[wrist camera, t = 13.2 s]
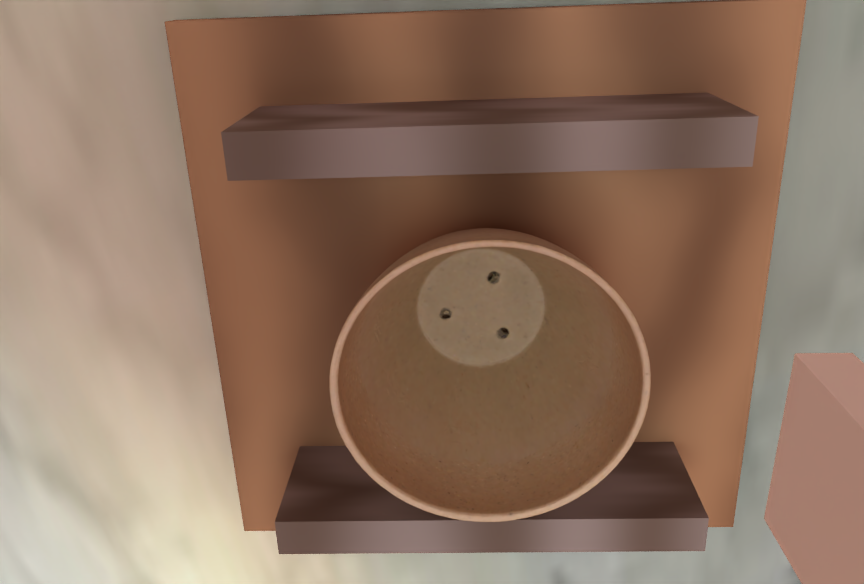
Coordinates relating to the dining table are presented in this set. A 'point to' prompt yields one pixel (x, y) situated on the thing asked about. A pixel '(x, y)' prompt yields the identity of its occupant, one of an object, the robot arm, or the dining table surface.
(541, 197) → the cup cradle
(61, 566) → the dining table surface
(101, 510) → the dining table surface
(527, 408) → the flower pot
